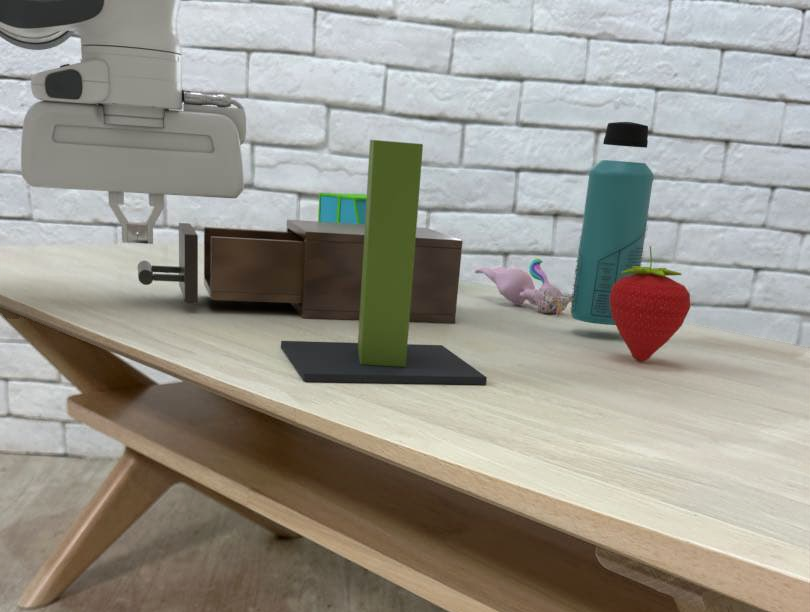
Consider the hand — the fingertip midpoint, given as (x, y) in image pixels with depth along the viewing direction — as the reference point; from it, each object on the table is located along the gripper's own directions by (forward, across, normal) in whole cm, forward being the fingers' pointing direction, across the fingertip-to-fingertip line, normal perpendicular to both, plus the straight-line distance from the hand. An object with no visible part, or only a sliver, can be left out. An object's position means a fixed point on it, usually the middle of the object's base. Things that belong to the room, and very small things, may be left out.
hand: (137, 242), depth 96 cm
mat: (+6, -18, +27) cm, 33 cm away
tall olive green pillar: (+5, -18, +27) cm, 33 cm away
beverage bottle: (+6, -45, +10) cm, 47 cm away
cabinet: (+6, -23, 0) cm, 24 cm away
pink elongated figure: (+6, -43, -7) cm, 44 cm away
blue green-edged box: (+6, -29, -22) cm, 37 cm away
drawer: (+5, -9, 0) cm, 10 cm away
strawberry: (+6, -43, +23) cm, 49 cm away
